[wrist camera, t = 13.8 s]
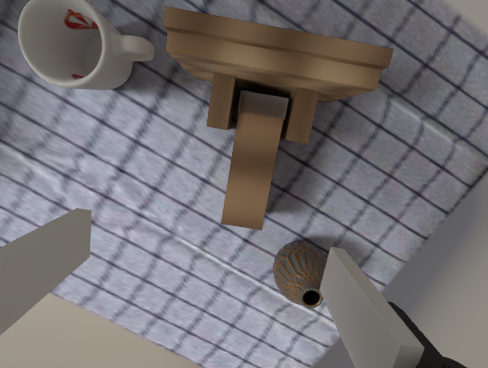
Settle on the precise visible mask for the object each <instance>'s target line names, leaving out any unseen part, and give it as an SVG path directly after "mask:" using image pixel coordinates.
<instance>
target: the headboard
mask: <svg viewBox="0 0 488 368" xmlns="http://www.w3.org/2000/svg"><path fill="white" fill-rule="evenodd" d="M163 26H164V27H165V28H166V29H167V30H168V32H167V42H166V52H167V53H168V54H169V55H170V56H171V57H172V58H174V59H175V60H176V61H177V62H178V63H179V64H180V65H181V66H182V67H183V68H185V69H186V70H187V71H188V72H189V73H190V74H191V75H192V76H193V77H194V78H196V79H199V80H205V81H210V82H213V83H212V90H211V97H210V105H209V112H208V119H207V126H208V127H213V128H219V129H225V130H229V129H231V126H232V120H233V114H234V107H235V101H236V95H237V88H238V87H244V88H249V89H255V90H260V91H266V92H271V93H277V94H283V95H287V98H288V104H287V109H286V114H285V119H283V125H282V130H281V135H280V138H282V139H285V140H288V141H293V142H299V143H305V144H308V141H309V136H310V132H311V127H312V123H313V118H314V114H315V109H316V105H317V101H322V102H327V103H329V102H333V101H336V100H340V99H344V98H347V97H351V96H355V95H358V94H362V93H366V92H369V91H373V90H376V89H377V85H378V82H379V78H380V74H381V70H383V69H385V68H388V67H389V64H390V60H391V57H392V53H393V49H392V48H387V47H381V46H376V45H370V44H365V43H360V42H354V41H349V40H344V39H338V38H333V37H328V36H322V35H317V34H311V33H306V32H301V31H295V30H290V29H285V28H279V27H274V26H269V25H263V24H258V23H253V22H247V21H242V20H236V19H231V18H226V17H220V16H215V15H210V14H204V13H199V12H194V11H188V10H183V9H177V8H172V7H167V6H165V13H164V24H163Z"/></svg>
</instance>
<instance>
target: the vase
mask: <svg viewBox="0 0 488 368" xmlns="http://www.w3.org/2000/svg"><path fill="white" fill-rule="evenodd" d="M326 263H327V259H326V257H325V256H324V254H323V253H322V252H321V251H320V250H319V249H318V248H317V247H315V246H314V245H312V244H310V243H307V242H301V241H296V242H291V243H289V244H287V245H285V246H284V247H283V248H281V250H280V251H279V252H278V254H277V255H276V258H275V261H274V265H273V273H274V279H275V282H276V284H277V287H278V288H279V290H280V291H281V293H282V294H283V295H284V296H285V297H286V298H287V299H288V300H290V301H291V302H293V303H296V304H299V305H303V306H305V307H307V308H315V307H317V306H319V305H320V304H321V302H322V300H323V297H322V295H321V292H320V286H321V282H322V278H323V274H324V271H325V267H326Z"/></svg>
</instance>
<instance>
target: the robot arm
mask: <svg viewBox="0 0 488 368" xmlns="http://www.w3.org/2000/svg"><path fill="white" fill-rule="evenodd" d="M90 235H91V210H85V209H79V208H76V209H74V210H72V211H70V212H69V213H67V214H65V215H63V216H61V217H59V218H57V219H55V220H53V221H51V222H49V223H47V224H45V225H43V226H41V227H39V228H37V229H35V230H34V231H32V232H30V233H28V234H26V235H24V236H22V237H20V238H18V239H16V240H14V241H12V242H10V243H8V244H6V245H4V246H2V247H0V335H1V334H2V333H3V332H5V331H6V330H7V329H8V328H9V327H10V326H11V325H12V324H14V323H15V322H16V321H17V320H18V319H19V318H20V317H22V316H23V315H24V314H25V313H26V312H27V311H28V310H30V309H31V308H32V307H33V306H34V305H35V304H37V303H38V302H39V301H40V300H41V299H42V298H43V297H44V296H46V295H47V294H48V293H49V292H50V291H51V290H53V289H54V288H55V287H56V286H57V285H58V284H59V283H61V282H62V281H63V280H64V279H65V278H66V277H67V276H69V275H70V274H71V273H72V272H73V271H74V270H75V269H77V268H78V267H79V266H80V265H81V264H82V263H83V262H85V261H86V260H87V259H88V258H89V257H90ZM320 292H321V295H322V297H323V299H324V301H325V303H326V305H327V308H328V310H329V312H330V314H331V316H332V318H333V321H334V323H335V325H336V327H337V329H338V331H339V334H340V336H341V338H342V340H343V342H344V344H345V347H346V348H347V351H348V353H349V355H350V357H351V359H352V362H353V364H354V366H355V368H466V367H465V366H463V365H462V364H460V363H458V362H456V361H454V360H452V359H450V358H446V357H443V356H442V355H441V354H440V353H439V352H438V351H437V349H436V348H435V347H434V346H433V345H432V344H431V343H430V341H429V340H428V339H427V338H426V337H425V336H424V334H423V333H422V332H421V331H420V330H418V327H417V326H416V325H415V324H414V323H413V322H412V321H411V319H410V318H409V317H408V316H407V315H406V313H405V312H404V311H403V310H402V309H400V308H399V307H397V306H396V305H395V304H394V303H392V302H387V301H386V300H385V299H384V297H383V296H382V295H381V294H380V292H379V291H378V290H377V289H376V288H375V286H374V285H373V284H372V283H371V281H370V280H369V279H368V278H367V276H366V275H365V274H364V273H363V271H362V270H361V269H360V268H359V267H358V265H357V264H356V263H355V262H354V260H353V259H352V258H351V257H350V255H349V254H348V253H347V252H346V251H345V249H342V248H336V247H330V251H329V255H328V259H327V263H326V267H325V271H324V274H323V278H322V282H321V286H320Z"/></svg>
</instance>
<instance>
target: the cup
mask: <svg viewBox="0 0 488 368" xmlns="http://www.w3.org/2000/svg"><path fill="white" fill-rule="evenodd" d="M18 39H19V44H20V48H21V51H22V53H23V55H24V57H25V59H26V61H27V62H28V64H29V65H30V67H31V68H32V69H33V70H34V71H35V72H36V73H37V74H38V75H39V76H40V77H42V78H43V79H44V80H46V81H48V82H50V83H52V84H54V85H57V86H60V87H64V88H75V89H96V90H109V89H114V88H117V87H119V86H121V85H122V84H123V83H125V82H126V80H127V79H128V78H129V76H130V74H131V72H132V67H133V61H150V60H152V59H153V58H154V56H155V54H154V47H153V45H152V44H151V42H149V41H148V40H146V39H144V38H141V37H138V36H131V35H121V34H120V33H119V32H118V31H117V30H116V29H115V28H114V27H113V26H112V25H111V24H110V23H109V22H108V21H107V19H106V18H105V17H104V16H103V15H102V14H101V13H100V12H99V11H98V10H97V9H96V8H95V7H94V6H93V5H92V4H91V3H90V2H88V1H87V0H29V1H28V3H27V4H26V5H25V7H24V8H23V10H22V12H21V15H20V18H19V23H18Z"/></svg>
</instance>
